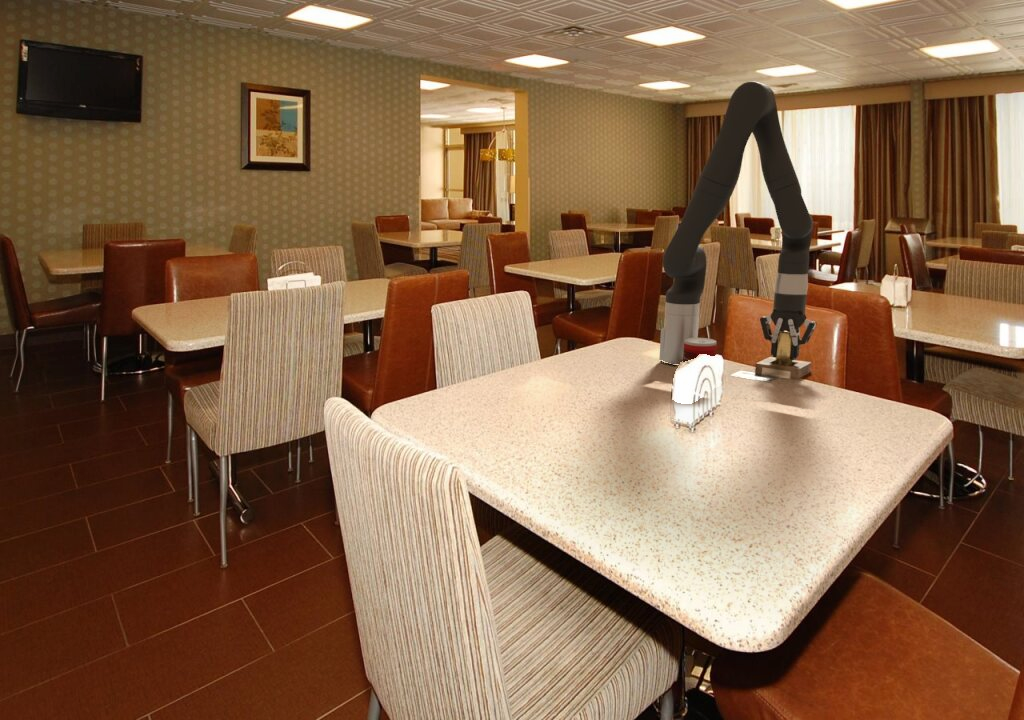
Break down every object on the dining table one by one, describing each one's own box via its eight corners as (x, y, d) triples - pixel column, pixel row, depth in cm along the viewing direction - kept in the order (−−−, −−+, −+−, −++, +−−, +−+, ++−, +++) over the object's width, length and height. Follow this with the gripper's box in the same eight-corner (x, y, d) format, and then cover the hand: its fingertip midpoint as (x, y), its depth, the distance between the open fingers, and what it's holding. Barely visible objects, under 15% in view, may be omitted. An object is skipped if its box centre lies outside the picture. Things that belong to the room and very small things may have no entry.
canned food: (717, 382, 168) (720, 339, 166) (708, 389, 162) (711, 344, 159) (687, 378, 172) (689, 336, 170) (677, 385, 166) (680, 341, 163)
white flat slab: (729, 381, 169) (729, 375, 169) (739, 376, 175) (740, 370, 174) (768, 388, 163) (769, 382, 163) (778, 382, 168) (779, 376, 168)
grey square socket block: (754, 378, 172) (755, 363, 171) (769, 371, 180) (770, 356, 179) (796, 385, 166) (798, 369, 165) (810, 377, 174) (811, 362, 173)
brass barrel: (772, 370, 172) (775, 332, 170) (777, 367, 175) (781, 330, 173) (788, 373, 170) (792, 334, 168) (793, 370, 173) (797, 331, 171)
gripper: (756, 290, 170) (751, 356, 174) (815, 295, 161) (808, 365, 165) (767, 287, 175) (762, 352, 179) (825, 292, 167) (817, 359, 170)
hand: (784, 357), depth 172 cm, fingers closed on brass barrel, 4 cm apart
